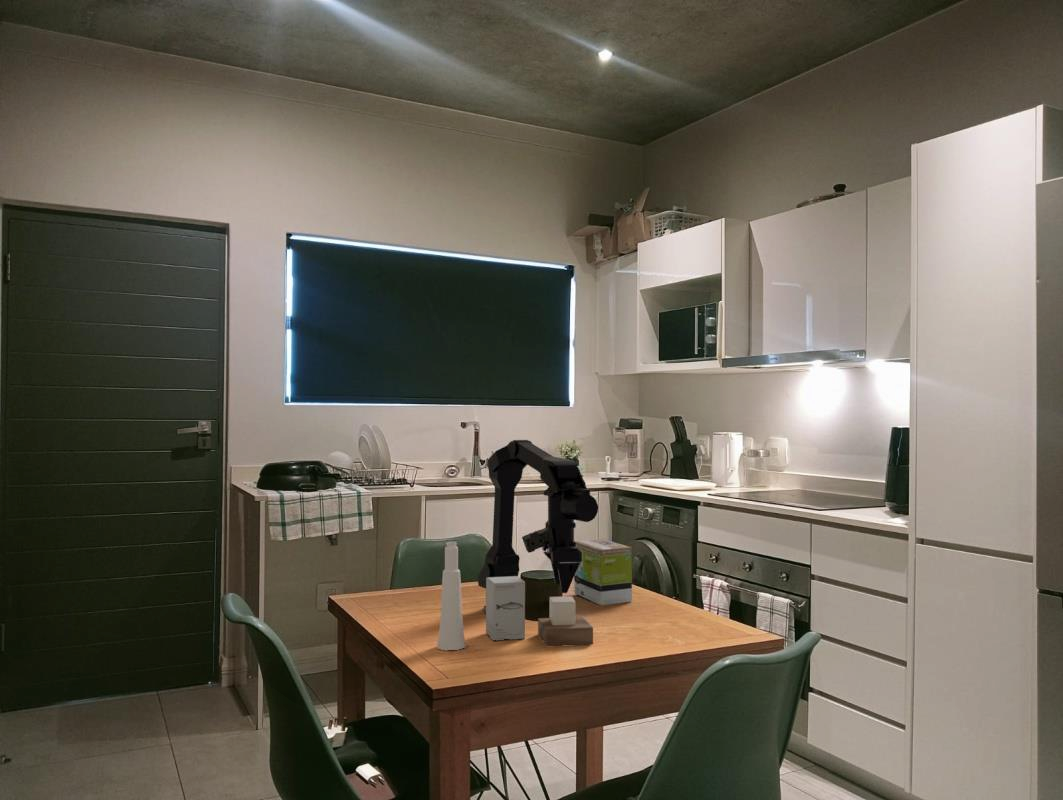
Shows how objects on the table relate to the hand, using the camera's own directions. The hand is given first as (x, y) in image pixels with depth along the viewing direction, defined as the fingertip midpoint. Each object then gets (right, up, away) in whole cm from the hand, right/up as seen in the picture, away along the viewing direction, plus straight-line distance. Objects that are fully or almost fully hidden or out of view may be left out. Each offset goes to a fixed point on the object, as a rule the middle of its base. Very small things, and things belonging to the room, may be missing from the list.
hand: (561, 588), depth 180 cm
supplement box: (-12, -11, +1) cm, 17 cm away
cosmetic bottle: (-23, -11, -8) cm, 27 cm away
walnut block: (+1, -11, -1) cm, 11 cm away
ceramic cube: (0, -7, -1) cm, 7 cm away
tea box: (+12, -12, +40) cm, 43 cm away
